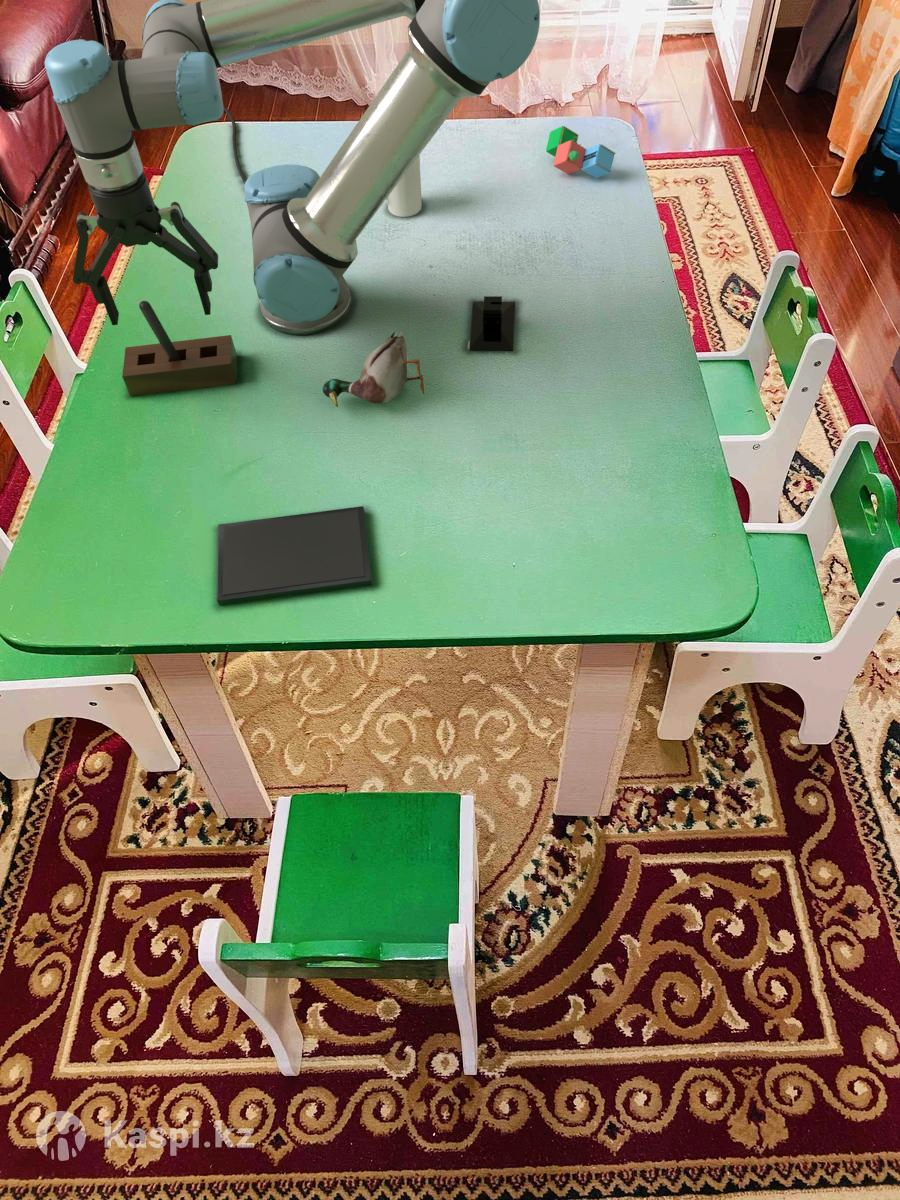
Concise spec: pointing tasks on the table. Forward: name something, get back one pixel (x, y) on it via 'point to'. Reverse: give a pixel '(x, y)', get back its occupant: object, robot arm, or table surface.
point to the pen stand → (180, 366)
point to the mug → (407, 193)
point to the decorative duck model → (378, 374)
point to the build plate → (492, 325)
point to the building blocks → (578, 154)
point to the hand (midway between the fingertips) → (162, 314)
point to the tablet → (292, 555)
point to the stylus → (159, 331)
